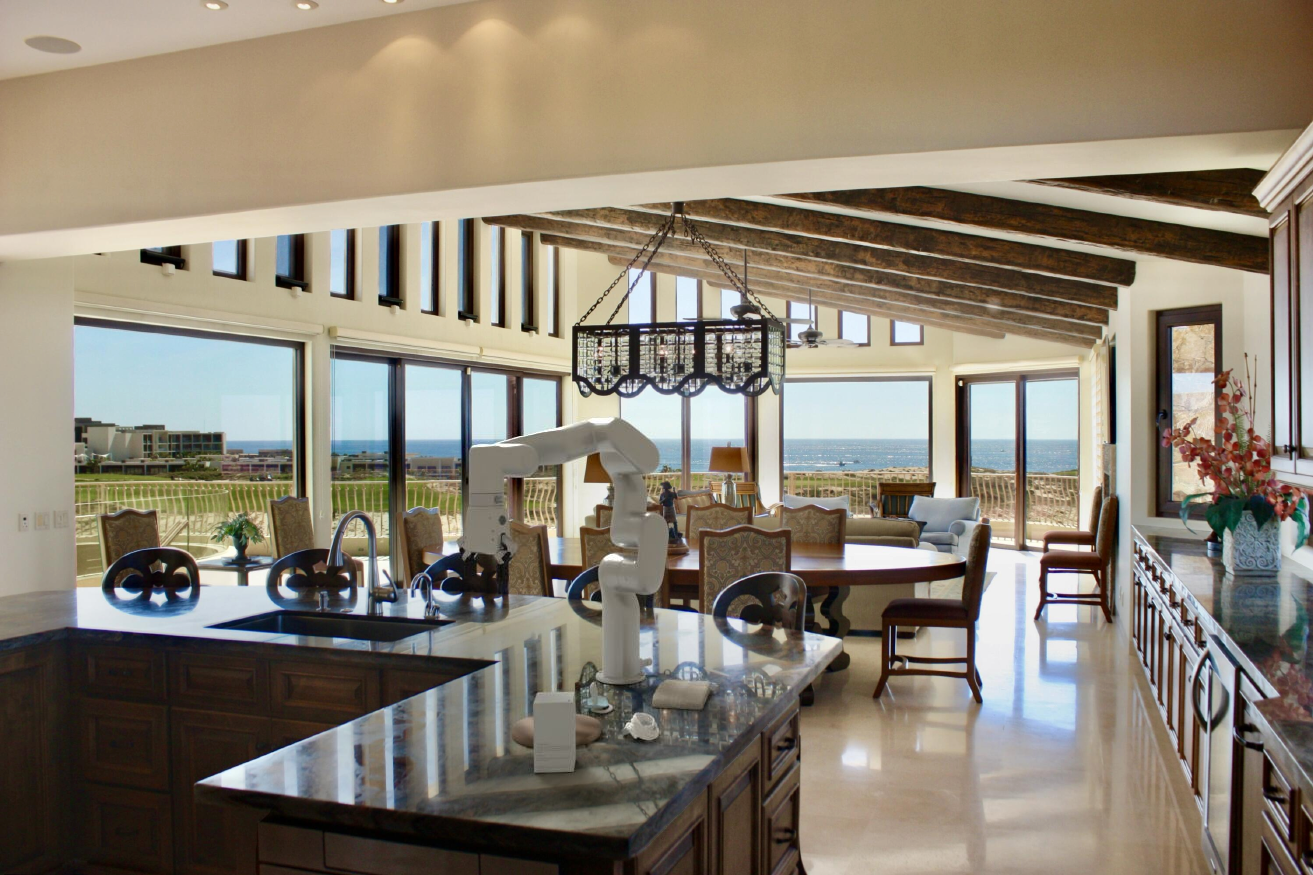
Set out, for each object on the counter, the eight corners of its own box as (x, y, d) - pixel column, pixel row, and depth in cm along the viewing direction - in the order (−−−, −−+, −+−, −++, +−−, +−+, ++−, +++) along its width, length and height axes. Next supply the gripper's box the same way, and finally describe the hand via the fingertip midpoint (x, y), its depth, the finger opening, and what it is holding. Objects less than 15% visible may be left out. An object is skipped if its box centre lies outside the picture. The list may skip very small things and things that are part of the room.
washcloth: (712, 690, 213) (712, 677, 213) (703, 712, 195) (703, 698, 195) (663, 688, 215) (663, 675, 215) (651, 710, 197) (651, 696, 197)
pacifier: (614, 706, 199) (588, 705, 200) (615, 678, 199) (589, 677, 200) (610, 716, 192) (583, 714, 192) (611, 687, 192) (584, 686, 192)
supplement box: (576, 758, 165) (576, 690, 165) (574, 772, 157) (574, 701, 158) (536, 758, 165) (536, 691, 165) (532, 773, 157) (532, 702, 157)
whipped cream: (643, 732, 183) (642, 708, 184) (668, 736, 179) (667, 711, 180) (617, 739, 177) (616, 714, 178) (642, 743, 173) (642, 717, 174)
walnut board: (562, 714, 192) (562, 707, 192) (619, 733, 180) (619, 725, 180) (494, 733, 179) (494, 726, 179) (550, 754, 167) (550, 746, 167)
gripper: (527, 501, 190) (527, 581, 190) (471, 499, 200) (470, 574, 199) (503, 503, 184) (502, 585, 183) (445, 500, 193) (445, 578, 193)
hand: (486, 579), depth 191 cm, fingers open, 9 cm apart
